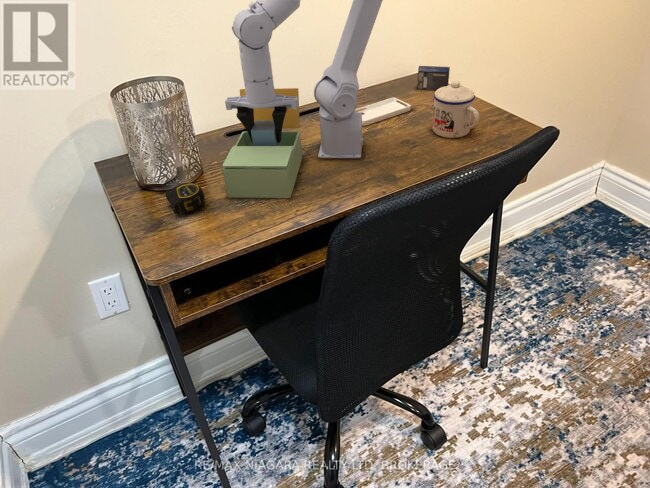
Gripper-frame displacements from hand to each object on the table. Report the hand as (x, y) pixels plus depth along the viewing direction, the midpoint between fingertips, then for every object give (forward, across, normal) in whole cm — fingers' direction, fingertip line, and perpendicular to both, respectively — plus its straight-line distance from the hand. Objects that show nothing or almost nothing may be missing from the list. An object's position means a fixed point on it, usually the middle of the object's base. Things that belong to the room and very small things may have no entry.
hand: (266, 140), depth 109 cm
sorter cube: (+1, 0, 0) cm, 1 cm away
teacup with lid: (+7, -41, -17) cm, 45 cm away
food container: (+7, +22, +4) cm, 23 cm away
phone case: (+7, -23, -28) cm, 37 cm away
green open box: (+6, 0, +4) cm, 8 cm away
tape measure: (+7, +14, +16) cm, 22 cm away
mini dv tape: (+7, -37, -44) cm, 58 cm away
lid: (-5, 0, -6) cm, 7 cm away
